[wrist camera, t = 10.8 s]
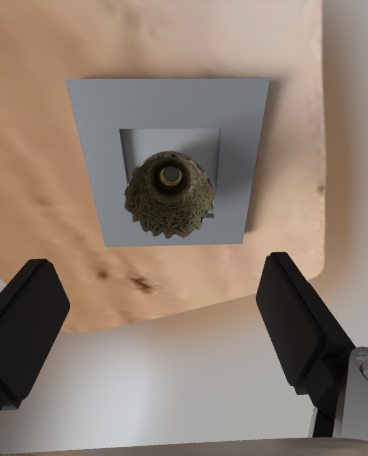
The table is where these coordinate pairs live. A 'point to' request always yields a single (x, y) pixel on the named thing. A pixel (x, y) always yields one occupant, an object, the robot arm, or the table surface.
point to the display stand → (170, 146)
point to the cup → (169, 195)
